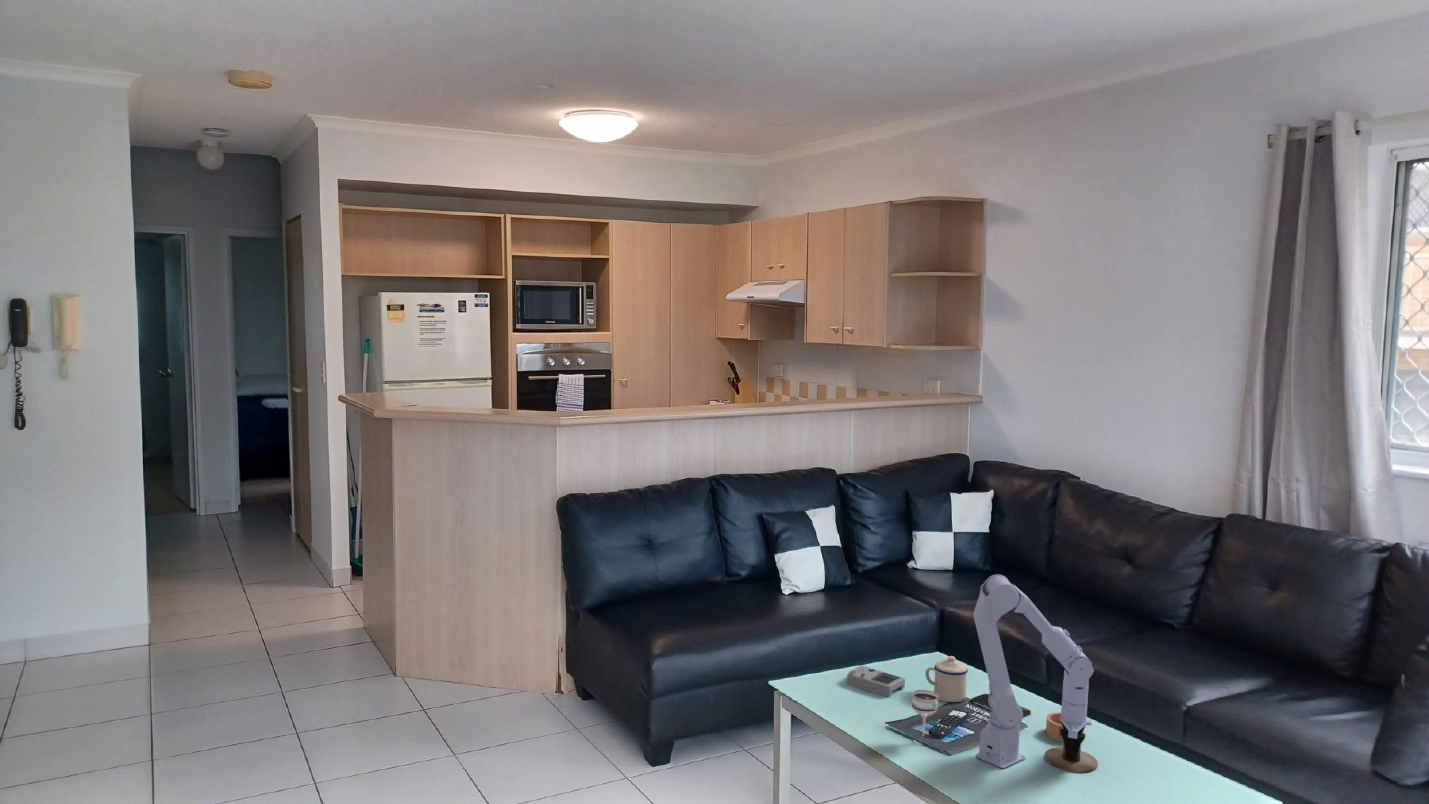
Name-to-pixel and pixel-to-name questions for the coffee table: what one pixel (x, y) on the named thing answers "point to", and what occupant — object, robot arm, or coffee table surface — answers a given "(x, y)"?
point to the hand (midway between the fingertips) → (1071, 755)
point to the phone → (984, 701)
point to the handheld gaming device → (875, 680)
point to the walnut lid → (1079, 765)
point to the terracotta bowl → (1054, 726)
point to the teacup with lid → (949, 679)
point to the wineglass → (924, 704)
